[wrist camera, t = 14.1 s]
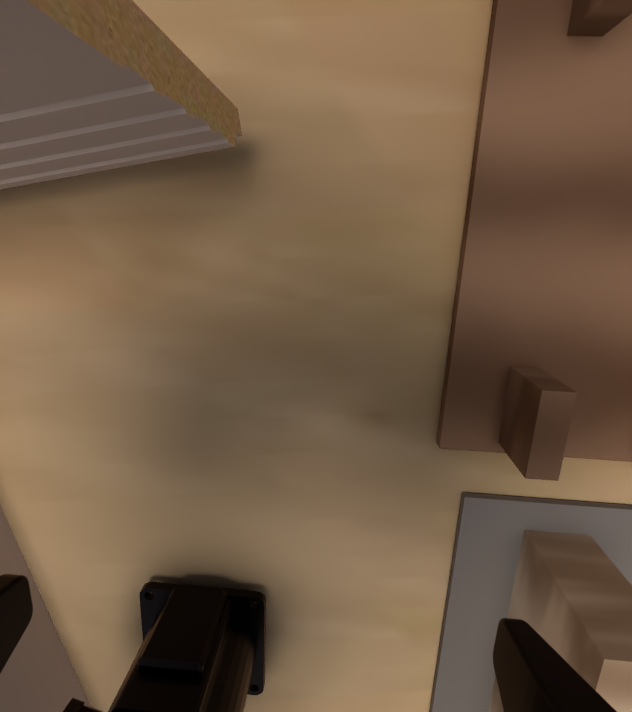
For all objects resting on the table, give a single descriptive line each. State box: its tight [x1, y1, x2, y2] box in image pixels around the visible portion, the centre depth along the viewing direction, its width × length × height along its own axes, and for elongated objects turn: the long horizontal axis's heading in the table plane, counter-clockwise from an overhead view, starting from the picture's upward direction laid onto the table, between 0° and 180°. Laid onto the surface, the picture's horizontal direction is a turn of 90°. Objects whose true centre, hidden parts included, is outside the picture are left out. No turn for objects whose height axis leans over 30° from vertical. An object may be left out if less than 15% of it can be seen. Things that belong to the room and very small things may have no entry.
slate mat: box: [430, 492, 632, 712], centre depth 22 cm, size 17×9×1 cm, turn 178°
